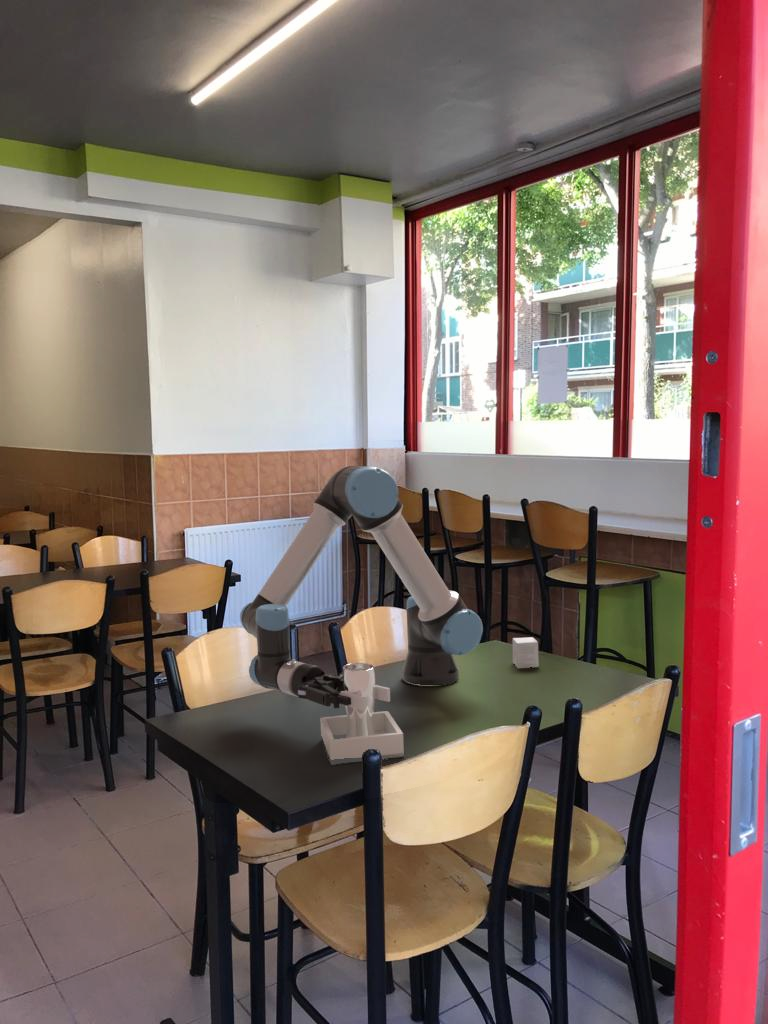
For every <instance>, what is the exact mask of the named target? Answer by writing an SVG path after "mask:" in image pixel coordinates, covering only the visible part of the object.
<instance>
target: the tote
mask: <svg viewBox="0 0 768 1024" xmlns="http://www.w3.org/2000/svg"><path fill="white" fill-rule="evenodd" d="M319 720H320V721H319V722H320V737H321V736H322V738H323V741H324V744H325V746H326V749H327V751H328V754H329V756H330V759H331V760H334V759H344V758H361V757H362V754H363V752H365V751H366V750H368V749H377V750H379V751H380V753H381V755H382V757H383V760H382V761H384V757H385V758H386V757H392V756H402V755H404V756H405V753H404V752H405V751H404V750H405V749H404V747H405V746H404V745H405V744H404V733H403V731H402V730H401V728H400V727H399V725H398V724H397V722H396V721H395V719H394V718H393V716H392V714H390V712H389V711H388V710H385V711H384V710H382V711H376V712H375V711H373V727H374V731H375V735H369V736H360V737H350V738H340V739H334V737H333V735H342V734H343V735H344V734H346V733H347V726H348V718H347V714H344V715H335V716H324V717H320V719H319Z"/></svg>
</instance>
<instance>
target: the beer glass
mask: <svg viewBox="0 0 768 1024" xmlns="http://www.w3.org/2000/svg"><path fill="white" fill-rule="evenodd" d="M375 670H376V669H375V665H374V664H372V663H369V662H354V663H353V662H352V663H347V664H346V665H344V666H343V667H342V673H343V691H345V692H348V693H352V694H356V695H360V696H364V697H365V710H364V711H362V710H358V709H355V708H351V707H348V706H344V707H345V712H346V715H347V718H348V726H347V733H346V738H350V737H360V736H369V735H375V731H374V727H373V712H374V709H375V702H376V699H375V696H376V685H377V683H376V682H377V680H376V673H375Z"/></svg>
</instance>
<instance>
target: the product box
mask: <svg viewBox="0 0 768 1024" xmlns="http://www.w3.org/2000/svg"><path fill="white" fill-rule="evenodd" d="M512 663H513V665H514V664H515V665H514V666H515V667H516V668H517V669H530V667H532V668H539V666H540V665H539V642H538V641H537V639H535V638H534V637H533V636H532V637H528V636H527V637H513V638H512Z"/></svg>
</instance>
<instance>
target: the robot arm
mask: <svg viewBox="0 0 768 1024" xmlns="http://www.w3.org/2000/svg"><path fill="white" fill-rule="evenodd" d="M312 506H313V511H312V513H311V514H310V515H309V517H308V518H307V520H306V522H305V523H304V524H303V526H302V527H301V529H300V530H299V532H298V533H297V535H296V536H295V538H294V539H293V541H292V543H291V544H290V546H289V547H288V549H287V550H286V552H285V553H284V555H283V556H282V558H281V559H280V560H279V562H278V564H277V565H276V567H275V568H274V570H273V571H272V573H271V574H270V575H269V577H268V579H267V580H266V582H265V583H264V584H263V586H262V588H261V589H260V591H259V592H258V593H257V595H256V597H254V599H253V601H252V602H248V603H247V604H245V605H244V607H243V608H242V609H241V611H240V614H239V621H240V623H241V626H242V627H243V628H244V630H245V631H246V632H247V633H248V634H250V635H252V636H253V637H254V638H255V639H256V645H257V654H256V655H255V656H254V657H253V658H252V660H251V661H250V664H249V667H248V674H249V677H250V679H251V681H252V682H253V683H254V684H256V685H259V686H261V687H262V688H265V689H269V690H274V691H278V692H280V693H281V692H282V693H285V694H287V695H290V696H291V695H292V696H294V697H297V698H298V699H304V700H305V699H306V700H308V701H311V702H314V703H316V704H319V705H322V706H324V707H330V706H332V705H331V704H333V709H339V708H340V705H341V706H344V707H345V706H348V707H351V708H355V709H358V710H362V711H364V710H365V697H364V696H360V695H356V694H352V693H348V692H345V691H343V672H340V673H339V676H335V675H332V674H327V673H325V671H324V669H322V668H321V667H320V666H318V665H314V664H311V663H304V662H302V661H301V662H300V661H297V660H296V659H295V658H291V643H290V642H291V639H290V624H291V623H290V620H291V619H290V616H289V609H288V607H287V605H289V603H290V601H291V599H292V598H293V597H294V595H295V594H296V592H298V589H299V588H300V586H301V585H302V583H303V582H304V580H305V579H306V577H307V576H308V574H309V573H310V571H311V570H312V568H313V566H314V565H315V564H316V562H317V561H318V559H319V557H320V556H321V554H323V552H324V550H325V548H326V547H327V546H328V545H329V542H330V540H331V539H332V538H333V537H334V535H335V534H336V532H337V530H338V529H339V528H340V527H342V526H346V524H347V523H348V522H349V520H350V519H351V517H353V519H354V521H355V522H356V523H357V525H358V526H359V528H360V530H361V531H363V532H364V533H365V532H366V533H370V534H371V535H372V537H373V538H374V539H375V541H376V543H377V544H378V546H379V547H380V549H381V550H382V552H383V554H384V555H385V557H386V558H387V559H388V561H389V563H390V564H391V566H392V568H393V569H394V571H395V573H396V574H397V575H398V577H399V579H400V580H401V582H402V583H403V585H404V586H405V588H406V589H407V591H408V592H409V594H410V595H411V596H409V597H407V600H406V608H405V611H406V630H407V631H406V632H407V654H406V657H405V660H404V664H403V666H402V667H403V668H402V672H401V675H402V677H401V678H403V679H404V680H405V681H407V682H410V683H413V684H420V685H444V684H448V685H450V684H449V683H452V684H454V683H456V682H458V680H459V679H458V678H459V677H460V675H459V668H458V666H457V663H456V659H455V657H454V655H455V656H463V655H467V654H470V652H472V651H473V650H474V649H476V647H477V646H478V645H479V643H480V642H481V639H482V635H483V632H484V628H483V627H484V626H483V622H482V619H481V618H480V616H479V615H478V614H477V613H476V611H473V610H472V609H469V608H468V607H467V606H466V603H464V601H463V599H462V597H461V596H460V594H459V593H458V592H457V591H455V590H450V589H449V588H448V587H447V585H446V583H445V582H444V580H443V578H442V577H441V576H440V574H439V573H438V570H437V569H436V568H435V566H434V564H433V562H432V561H431V559H430V558H429V556H428V555H427V553H426V552H425V550H424V548H423V547H422V544H420V542H419V540H418V539H417V537H416V535H415V534H414V532H413V530H412V528H411V527H410V525H409V524H408V523H407V521H406V519H405V518H404V516H403V514H402V510H403V507H404V505H403V503H402V501H401V500H400V498H399V487H398V484H397V482H396V480H395V478H394V477H393V476H392V475H391V474H390V473H389V472H387V471H386V470H384V469H382V468H379V467H376V466H374V465H368V466H367V465H364V466H358V465H347V466H345V467H342V468H340V469H339V470H337V471H336V472H335V473H334V474H333V475H332V476H331V477H330V479H328V481H327V483H325V485H324V487H323V488H322V490H321V492H320V493H319V494H318V496H317V497H316V499H315V501H314V502H313V504H312ZM455 681H456V682H455ZM453 682H454V683H453ZM444 686H445V685H444ZM375 700H380V701H384V702H387V703H388V702H391V688H390V687H386V686H382V685H378V684H376V696H375Z"/></svg>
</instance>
